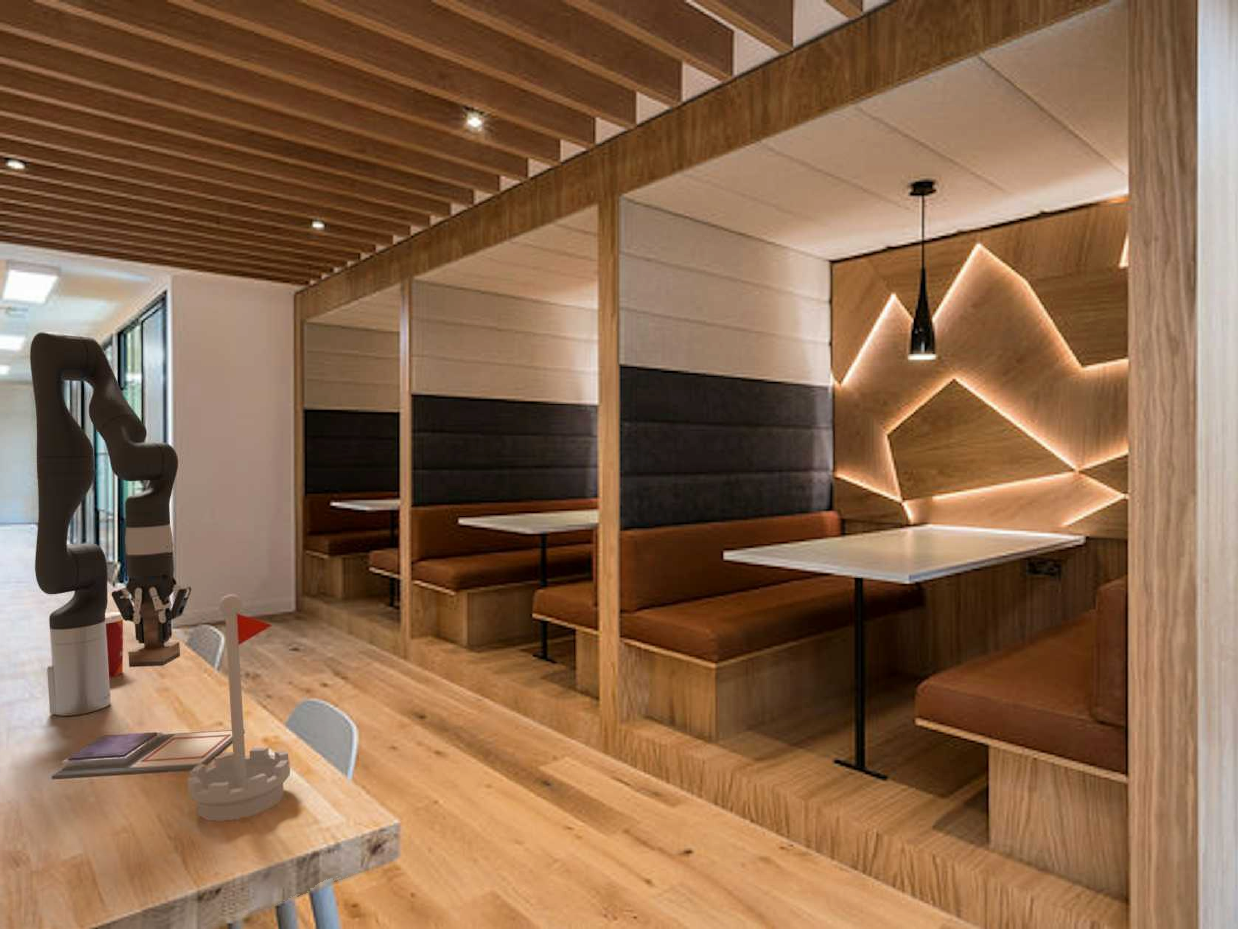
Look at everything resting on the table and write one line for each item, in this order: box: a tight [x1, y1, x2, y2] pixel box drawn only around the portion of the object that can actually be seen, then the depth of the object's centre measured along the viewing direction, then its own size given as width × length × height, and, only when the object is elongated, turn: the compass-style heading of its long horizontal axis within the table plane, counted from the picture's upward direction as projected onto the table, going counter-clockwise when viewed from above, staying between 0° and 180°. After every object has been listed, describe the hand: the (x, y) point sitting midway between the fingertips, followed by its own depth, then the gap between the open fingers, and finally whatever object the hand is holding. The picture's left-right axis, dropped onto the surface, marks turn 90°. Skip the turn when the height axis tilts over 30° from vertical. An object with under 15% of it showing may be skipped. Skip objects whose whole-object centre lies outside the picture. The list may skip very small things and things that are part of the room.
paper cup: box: [105, 611, 124, 678], centre depth 180 cm, size 8×8×14 cm
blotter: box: [51, 729, 233, 779], centre depth 130 cm, size 23×16×1 cm
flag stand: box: [187, 593, 291, 822], centre depth 110 cm, size 13×13×30 cm
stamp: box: [127, 601, 181, 668], centre depth 143 cm, size 6×6×12 cm
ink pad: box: [61, 731, 163, 770], centre depth 130 cm, size 10×11×2 cm
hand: (154, 641), depth 143 cm, fingers closed on stamp, 3 cm apart
